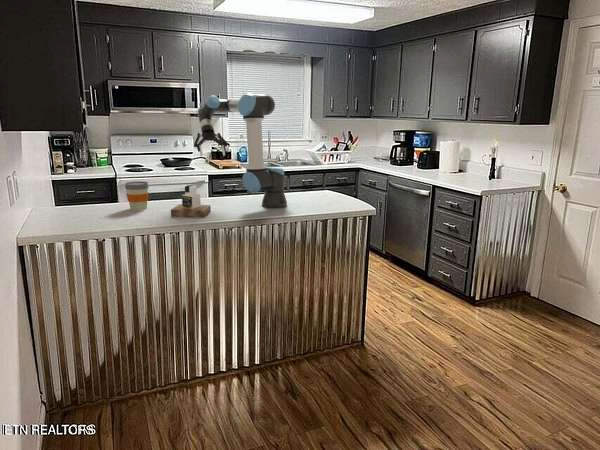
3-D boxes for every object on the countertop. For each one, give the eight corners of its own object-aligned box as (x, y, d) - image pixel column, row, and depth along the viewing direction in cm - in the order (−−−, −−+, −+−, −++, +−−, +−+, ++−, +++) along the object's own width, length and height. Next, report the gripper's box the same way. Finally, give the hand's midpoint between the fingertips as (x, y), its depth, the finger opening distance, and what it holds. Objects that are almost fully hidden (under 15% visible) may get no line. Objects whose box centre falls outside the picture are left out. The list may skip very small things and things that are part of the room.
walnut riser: (210, 212, 248) (210, 205, 247) (204, 217, 235) (204, 210, 234) (179, 211, 249) (178, 204, 248) (171, 217, 235) (170, 209, 234)
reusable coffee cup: (122, 209, 251) (119, 183, 248) (139, 205, 262) (137, 180, 258) (138, 212, 246) (135, 185, 242) (154, 208, 257) (153, 182, 253)
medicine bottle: (182, 207, 240) (180, 185, 237) (191, 205, 246) (190, 184, 243) (192, 209, 237) (191, 187, 233) (201, 206, 243) (200, 185, 240)
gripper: (226, 132, 280) (232, 158, 271) (186, 132, 271) (191, 159, 261) (227, 123, 274) (234, 150, 265) (187, 123, 265) (192, 151, 255)
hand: (213, 155), depth 263 cm, fingers open, 13 cm apart
